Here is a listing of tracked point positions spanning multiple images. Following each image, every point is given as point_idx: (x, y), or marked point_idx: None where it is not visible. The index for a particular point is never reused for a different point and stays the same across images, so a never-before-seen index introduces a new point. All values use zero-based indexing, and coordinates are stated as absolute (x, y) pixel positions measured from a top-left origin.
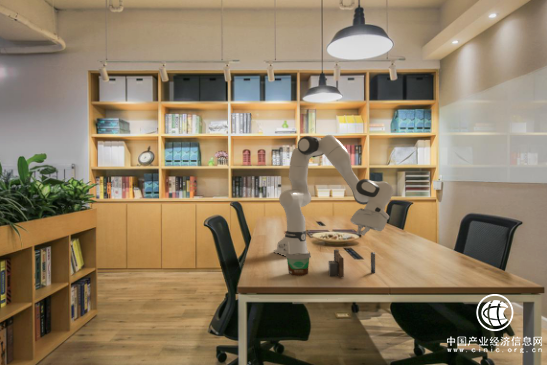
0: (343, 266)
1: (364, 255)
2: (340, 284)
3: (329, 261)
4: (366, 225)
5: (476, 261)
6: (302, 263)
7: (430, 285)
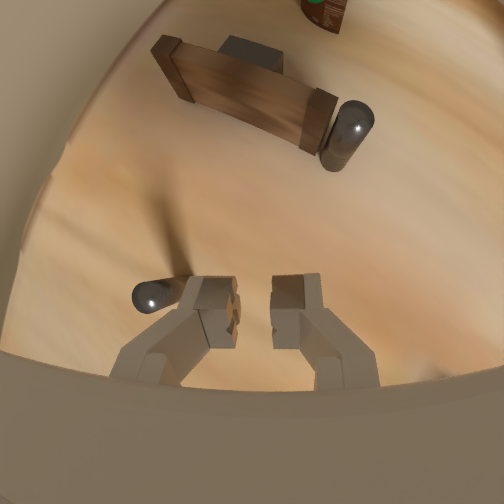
0: (164, 73)
1: None
2: (139, 64)
3: (266, 48)
4: (118, 379)
5: None
6: None
7: (8, 339)
